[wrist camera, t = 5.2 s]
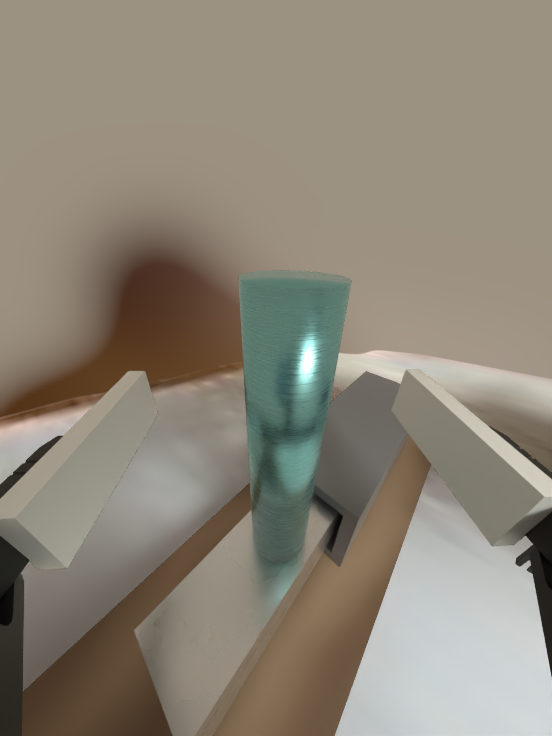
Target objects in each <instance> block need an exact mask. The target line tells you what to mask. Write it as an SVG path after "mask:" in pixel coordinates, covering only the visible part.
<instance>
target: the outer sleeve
mask: <svg viewBox="0 0 552 736" xmlns="http://www.w3.org/2000/svg"><path fill="white" fill-rule="evenodd" d="M400 385H401V384H399V383H396V382H394V381H391V380H388V379H386V378H383V377H380V376H378V375H375V374H372V373H369V372H367V371H366V372H365V373H363V374H362V375H361V376H360V377H359V378H358V379H357V380H356V381H354V382H353V383H352V384H351V385H350V386H349V387H348V388H347V389H345V390H344V391H343V392H342V393H341V394H340V395H339V396H338V397H336V398H335V399H334V400H333V401H332V402H331V403H330V404H329V409H328V414H327V420H326V425H325V431H324V436H323V442H322V447H321V453H320V458H319V464H318V469H317V475H316V481H315V486H314V493H315V494H316V495H318V496H319V497H320V498H321V499H323V500H324V501H325V502H326V503H328V504H329V505H330V506H331V507H333V508H334V509H335V510H336V511H338V512H339V513H340V514H341V515H343V519H342V522H341V524H340V525H339V527H338V529H337V530H336V532H335V534H334V535H333V537H332V538H331V540H330V542H329V543H328V545H327V547H326V548H325V550H324V553H325V554H326V555H327V556H328V557H329V558H330V559H331V560H332V561H333V562H334V563H335V564H336V565H337V566H339V567H340V566H341V565H342V563H343V561H344V559H345V557H346V555H347V553H348V551H349V549H350V547H351V545H352V543H353V542H354V540H355V538H356V536H357V534H358V532H359V530H360V528H361V526H362V524H363V522H364V521H365V519H366V517H367V515H368V513H369V511H370V509H371V507H372V505H373V503H374V501H375V499H376V498H377V496H378V494H379V492H380V490H381V488H382V486H383V484H384V482H385V480H386V478H387V477H388V475H389V473H390V471H391V469H392V467H393V465H394V463H395V461H396V459H397V457H398V456H399V454H400V452H401V450H402V448H403V446H404V444H405V442H406V440H407V438H408V436H409V434H408V432H407V431H406V430H405V428H404V427H403V426H402V424H401V423H400V422H399V420H398V419H397V418H396V416H395V415H394V414H393V412H392V411H391V409H392V407H393V404H394V401H395V398H396V396H397V393H398V390H399V387H400Z"/></svg>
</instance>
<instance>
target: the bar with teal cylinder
mask: <svg viewBox="0 0 552 736" xmlns="http://www.w3.org/2000/svg"><path fill="white" fill-rule="evenodd" d="M351 282H352V281H351V280H350V279H349V278H346V277H343V276H338V275H334V274H327V273H320V272H309V271H289V270H288V271H285V270H278V271H258V272H250V273H245V274H242V275H240V276H239V295H240V312H241V331H242V349H243V367H244V385H245V403H246V421H247V439H248V457H249V475H250V493H251V511H250V512H249V513H248V514H247V515H246V516H245V517H244V518H243V519H242V520H241V521H240V522H239V523H238V524H237V525H236V526H235V527H234V528H233V529H232V530H231V531H230V532H229V533H228V534H227V535H226V536H225V537H224V538H223V539H222V540H221V541H220V542H219V543H218V544H217V546H216V547H215V548H214V549H213V550H212V551H211V552H210V553H209V554H208V555H207V556H206V557H205V558H204V559H203V560H202V561H201V562H200V563H199V564H198V565H197V566H196V567H195V568H194V569H193V570H192V571H191V572H190V573H189V574H188V575H187V576H186V577H185V578H184V579H183V581H182V582H181V583H180V584H179V585H178V586H177V587H176V588H175V589H174V590H173V591H172V592H171V593H170V594H169V595H168V596H167V597H166V598H165V599H164V600H163V601H162V602H161V603H160V604H159V605H158V606H157V607H156V608H155V609H154V610H153V611H152V612H151V613H150V614H149V616H148V617H147V618H146V619H145V620H144V621H143V622H142V623H141V624H140V625H139V626H138V627H137V628H136V629H135V630H134V632H135V635H136V638H137V641H138V643H139V646H140V649H141V651H142V654H143V657H144V659H145V662H146V665H147V667H148V670H149V673H150V676H151V678H152V681H153V684H154V686H155V689H156V692H157V694H158V697H159V700H160V703H161V705H162V708H163V711H164V713H165V716H166V719H167V721H168V724H169V727H170V730H171V732H172V735H173V736H213V734H214V732H215V731H216V729H217V727H218V726H219V724H220V723H221V721H222V719H223V718H224V716H225V714H226V713H227V711H228V709H229V708H230V706H231V704H232V703H233V701H234V699H235V698H236V696H237V694H238V693H239V691H240V689H241V688H242V686H243V684H244V683H245V681H246V679H247V678H248V676H249V674H250V673H251V671H252V669H253V668H254V666H255V664H256V663H257V661H258V660H259V658H260V656H261V655H262V653H263V651H264V650H265V648H266V646H267V645H268V643H269V641H270V640H271V638H272V636H273V635H274V633H275V631H276V630H277V628H278V626H279V625H280V623H281V621H282V620H283V618H284V616H285V615H286V613H287V611H288V610H289V608H290V606H291V605H292V603H293V601H294V600H295V598H296V597H297V595H298V593H299V592H300V590H301V588H302V587H303V585H304V583H305V582H306V580H307V578H308V577H309V575H310V573H311V572H312V570H313V568H314V567H315V565H316V563H317V562H318V560H319V558H320V557H321V555H322V553H323V552H324V550H325V548H326V547H327V545H328V543H329V542H330V540H331V538H332V537H333V535H334V534H335V532H336V530H337V529H338V527H339V525H340V524H341V522H342V519H343V515H341V514H340V513H339V512H338V511H336V510H335V509H334V508H333V507H331V506H330V505H329V504H328V503H326V502H325V501H324V500H323V499H321V498H320V497H319V496H318V495H316V494H315V493H314V486H315V481H316V475H317V469H318V464H319V458H320V453H321V447H322V442H323V436H324V431H325V425H326V420H327V414H328V409H329V403H330V398H331V392H332V387H333V381H334V376H335V370H336V365H337V359H338V354H339V348H340V342H341V337H342V332H343V326H344V321H345V315H346V310H347V304H348V299H349V293H350V288H351Z"/></svg>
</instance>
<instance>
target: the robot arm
mask: <svg viewBox="0 0 552 736" xmlns="http://www.w3.org/2000/svg"><path fill="white" fill-rule="evenodd" d="M391 411H392V412H393V414H394V415H395V416H396V418H397V419H398V420H399V422H400V423H401V424H402V426H403V427H404V428H405V430H406V431H407V432H408V434H409V435H410V437H411V438H412V439H413V441H414V442H415V443H416V445H417V446H418V447H419V449H420V450H421V451H422V453H423V454H424V455H425V457H426V458H427V459H428V461H429V462H430V463H431V465H432V466H433V467H434V469H435V470H436V471H437V473H438V474H439V476H440V477H441V478H442V480H443V481H444V482H445V484H446V485H447V486H448V488H449V489H450V490H451V492H452V493H453V494H454V496H455V497H456V498H457V500H458V501H459V502H460V504H461V505H462V506H463V508H464V509H465V510H466V512H467V513H468V515H469V516H470V517H471V519H472V520H473V521H474V523H475V524H476V525H477V527H478V528H479V529H480V531H481V532H482V533H483V535H484V536H485V537H486V539H487V540H488V541H489V543H490V544H491V545H492V546H504V545H515V544H516V543H517V542H518V541H519V540H521V539H522V538H523V537H524V536H525V535H526V536H527V538H528V539H529V540H530V541H531V542H532V543H533V544H534V545H532V546H531V547H530V548H529V549H527V550H526V551H525V552H523V553H522V554H521V555H520V556H518V557H517V558H516V565H518V566H522V565H523V564H524V563H526V562H527V561H528V560H530V561H531V566H530V567H529V568H528V569H527V571H528V572H530V573H532V574H533V578H534V583H535V589H536V594H537V599H538V605H539V610H540V616H541V621H542V627H543V632H544V637H545V643H546V648H547V654H548V659H549V665H550V670H551V676H552V472H550V471H549V470H548V469H547V468H545V467H544V466H543V465H542V464H541V463H539V462H538V461H537V460H536V459H532V456H531V455H529V454H528V453H527V452H526V451H525V450H523V449H520V446H518V445H517V444H516V443H515V442H513V441H512V440H511V439H510V438H509V437H507V436H506V435H504V434H503V433H501V432H499V431H497V430H496V429H494V428H492V427H490V426H487V425H486V424H485V423H484V422H483V421H481V420H480V419H479V418H478V417H477V416H475V415H474V414H473V413H472V412H471V411H469V410H468V409H467V408H466V407H465V406H463V405H462V404H461V403H460V402H459V401H457V400H456V399H455V398H454V397H453V396H451V395H450V394H449V393H448V392H447V391H445V390H444V389H443V388H442V387H441V386H440V385H438V384H437V383H436V382H435V381H434V380H432V379H431V378H430V377H429V376H428V375H426V374H425V373H424V372H423V371H422V370H420V369H406V371H405V374H404V376H403V379H402V382H401V385H400V387H399V390H398V393H397V396H396V398H395V401H394V404H393V407H392V409H391ZM157 416H158V411H157V408H156V405H155V402H154V398H153V395H152V392H151V389H150V386H149V382H148V380H147V376H146V373H145V371H128V372H127V373H126V374H125V375H124V376H123V377H122V378H121V379H120V380H119V381H118V382H117V383H116V384H115V385H114V386H113V387H112V388H111V389H110V390H109V391H108V392H107V393H106V394H105V395H104V396H103V397H102V398H101V399H100V400H99V401H98V402H97V403H96V404H95V405H94V406H93V407H92V408H91V409H90V410H89V411H88V412H87V413H86V414H85V415H84V416H83V417H82V418H81V419H80V420H79V421H78V422H77V423H76V424H75V425H74V426H73V427H72V428H71V429H70V430H69V431H68V432H67V433H66V434H65V435H64V436H57V437H55V438H54V439H52V440H51V441H49V442H47V443H46V444H44V445H43V446H41V447H40V448H39V449H38V450H37V451H35V452H34V453H33V454H32V455H31V456H30V457H29V458H28V459H27V460H26V463H25V464H22V465H21V466H20V467H18V468H17V469H16V470H15V471H14V472H13V475H10V476H9V477H8V478H7V479H6V480H5V481H4V482H3V483H1V484H0V736H22V690H23V620H24V580H23V577H22V575H21V574H20V573H21V572H22V570H23V569H24V567H25V566H26V565H27V563H28V562H29V561H30V562H31V563H32V564H33V565H34V566H36V567H37V568H38V569H39V570H49V569H67V568H68V567H69V565H70V563H71V562H72V560H73V558H74V557H75V555H76V553H77V551H78V550H79V548H80V546H81V545H82V543H83V541H84V540H85V538H86V536H87V535H88V533H89V531H90V529H91V528H92V526H93V524H94V523H95V521H96V519H97V518H98V516H99V514H100V512H101V511H102V509H103V507H104V506H105V504H106V502H107V501H108V499H109V497H110V496H111V494H112V492H113V490H114V489H115V487H116V485H117V484H118V482H119V480H120V479H121V477H122V475H123V474H124V472H125V470H126V468H127V467H128V465H129V463H130V462H131V460H132V458H133V457H134V455H135V453H136V452H137V450H138V448H139V446H140V445H141V443H142V441H143V440H144V438H145V436H146V435H147V433H148V431H149V429H150V428H151V426H152V424H153V423H154V421H155V419H156V418H157Z"/></svg>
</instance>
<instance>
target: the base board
mask: <svg viewBox="0 0 552 736" xmlns="http://www.w3.org/2000/svg"><path fill="white" fill-rule="evenodd" d="M430 465H431V463H430V462H429V461H428V459H427V458H426V457H425V455H424V454H423V453H422V451H421V450H420V449H419V447H418V446H417V445H416V443H415V442H414V441H413V439H412V438H411V437H410V435H409V436H408V438H407V440H406V442H405V444H404V446H403V448H402V450H401V452H400V454H399V456H398V457H397V459H396V461H395V463H394V465H393V467H392V469H391V471H390V473H389V475H388V477H387V478H386V480H385V482H384V484H383V486H382V488H381V490H380V492H379V494H378V496H377V498H376V499H375V501H374V503H373V505H372V507H371V509H370V511H369V513H368V515H367V517H366V519H365V521H364V522H363V524H362V526H361V528H360V530H359V532H358V534H357V536H356V538H355V540H354V542H353V543H352V545H351V547H350V549H349V551H348V553H347V555H346V557H345V559H344V561H343V563H342V565H341V566H340V567H339V566H337V565H336V564H335V563H334V562H333V561H332V560H331V559H330V558H329V557H328V556H327V555H326V554H325V553H324V552H323V553H322V555H321V557H320V558H319V560H318V562H317V563H316V565H315V567H314V568H313V570H312V572H311V573H310V575H309V577H308V578H307V580H306V582H305V583H304V585H303V587H302V588H301V590H300V592H299V593H298V595H297V597H296V598H295V600H294V601H293V603H292V605H291V606H290V608H289V610H288V611H287V613H286V615H285V616H284V618H283V620H282V621H281V623H280V625H279V626H278V628H277V630H276V631H275V633H274V635H273V636H272V638H271V640H270V641H269V643H268V645H267V646H266V648H265V650H264V651H263V653H262V655H261V656H260V658H259V660H258V661H257V663H256V664H255V666H254V668H253V669H252V671H251V673H250V674H249V676H248V678H247V679H246V681H245V683H244V684H243V686H242V688H241V689H240V691H239V693H238V694H237V696H236V698H235V699H234V701H233V703H232V704H231V706H230V708H229V709H228V711H227V713H226V714H225V716H224V718H223V719H222V721H221V723H220V724H219V726H218V727H217V729H216V731H215V732H214V734H213V736H335V733H336V730H337V727H338V724H339V722H340V719H341V716H342V713H343V710H344V707H345V705H346V702H347V699H348V696H349V693H350V691H351V688H352V685H353V682H354V679H355V676H356V674H357V671H358V668H359V665H360V662H361V660H362V657H363V654H364V651H365V648H366V645H367V643H368V640H369V637H370V634H371V631H372V629H373V626H374V623H375V620H376V617H377V614H378V612H379V609H380V606H381V603H382V600H383V598H384V595H385V592H386V589H387V586H388V584H389V581H390V578H391V575H392V572H393V569H394V567H395V564H396V561H397V558H398V555H399V553H400V550H401V547H402V544H403V541H404V538H405V536H406V533H407V530H408V527H409V524H410V522H411V519H412V516H413V513H414V510H415V507H416V505H417V502H418V499H419V496H420V493H421V491H422V488H423V485H424V482H425V479H426V476H427V474H428V471H429V468H430ZM250 511H251V493H250V483H249V484H248V485H247V486H246V487H245V488H244V489H243V490H242V491H241V492H240V493H238V494H237V495H236V496H235V497H234V498H233V499H232V500H231V501H230V502H229V503H228V504H227V505H225V506H224V507H223V508H222V509H221V510H220V511H219V512H218V513H217V514H216V515H215V516H213V517H212V518H211V519H210V520H209V521H208V522H207V523H206V524H205V525H204V526H203V527H202V528H200V529H199V530H198V531H197V532H196V533H195V534H194V535H193V536H192V537H191V538H190V539H189V540H187V541H186V542H185V543H184V544H183V545H182V546H181V547H180V548H179V549H178V550H177V551H175V552H174V553H173V554H172V555H171V556H170V557H169V558H168V559H167V560H166V561H165V562H164V563H162V564H161V565H160V566H159V567H158V568H157V569H156V570H155V571H154V572H153V573H152V574H151V575H149V576H148V577H147V578H146V579H145V580H144V581H143V582H142V583H141V584H140V585H139V586H137V587H136V588H135V589H134V590H133V591H132V592H131V593H130V594H129V595H128V596H127V597H126V598H124V599H123V600H122V601H121V602H120V603H119V604H118V605H117V606H116V607H115V608H114V609H113V610H111V611H110V612H109V613H108V614H107V615H106V616H105V617H104V618H103V619H102V620H101V621H99V622H98V623H97V624H96V625H95V626H94V627H93V628H92V629H91V630H90V631H89V632H88V633H86V634H85V635H84V636H83V637H82V638H81V639H80V640H79V641H78V642H77V643H76V644H74V645H73V646H72V647H71V648H70V649H69V650H68V651H67V652H66V653H65V654H64V655H63V656H61V657H60V658H59V659H58V660H57V661H56V662H55V663H54V664H53V665H52V666H51V667H50V668H48V669H47V670H46V671H45V672H44V673H43V674H42V675H41V676H40V677H39V678H38V679H36V680H35V681H34V682H33V683H32V684H31V685H30V686H29V687H28V688H27V689H26V690H25V691H23V692H22V736H173V735H172V732H171V730H170V727H169V724H168V721H167V719H166V716H165V713H164V711H163V708H162V705H161V703H160V700H159V697H158V694H157V692H156V689H155V686H154V684H153V681H152V678H151V676H150V673H149V670H148V667H147V665H146V662H145V659H144V657H143V654H142V651H141V649H140V646H139V643H138V641H137V638H136V635H135V632H134V630H135V629H136V628H137V627H138V626H139V625H140V624H141V623H142V622H143V621H144V620H145V619H146V618H147V617H148V616H149V614H150V613H151V612H152V611H153V610H154V609H155V608H156V607H157V606H158V605H159V604H160V603H161V602H162V601H163V600H164V599H165V598H166V597H167V596H168V595H169V594H170V593H171V592H172V591H173V590H174V589H175V588H176V587H177V586H178V585H179V584H180V583H181V582H182V581H183V579H184V578H185V577H186V576H187V575H188V574H189V573H190V572H191V571H192V570H193V569H194V568H195V567H196V566H197V565H198V564H199V563H200V562H201V561H202V560H203V559H204V558H205V557H206V556H207V555H208V554H209V553H210V552H211V551H212V550H213V549H214V548H215V547H216V546H217V544H218V543H219V542H220V541H221V540H222V539H223V538H224V537H225V536H226V535H227V534H228V533H229V532H230V531H231V530H232V529H233V528H234V527H235V526H236V525H237V524H238V523H239V522H240V521H241V520H242V519H243V518H244V517H245V516H246V515H247V514H248V513H249V512H250Z"/></svg>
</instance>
